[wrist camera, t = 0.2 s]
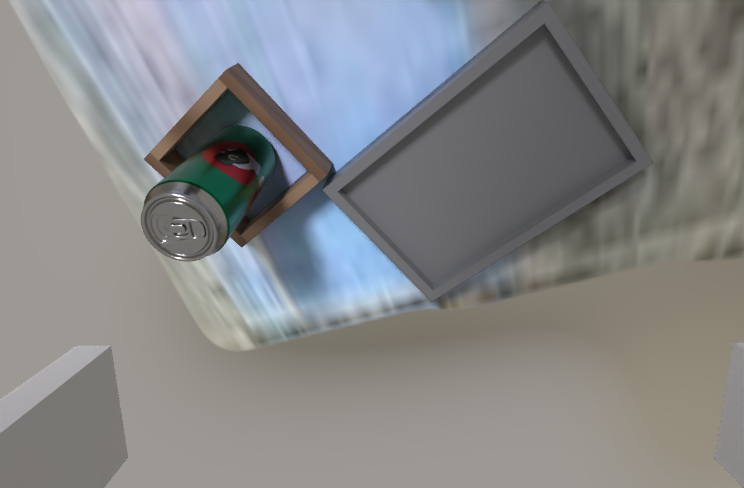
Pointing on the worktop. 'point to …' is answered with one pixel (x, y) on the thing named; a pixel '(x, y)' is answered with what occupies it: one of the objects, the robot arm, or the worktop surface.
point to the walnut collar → (273, 120)
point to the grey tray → (490, 157)
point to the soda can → (208, 194)
